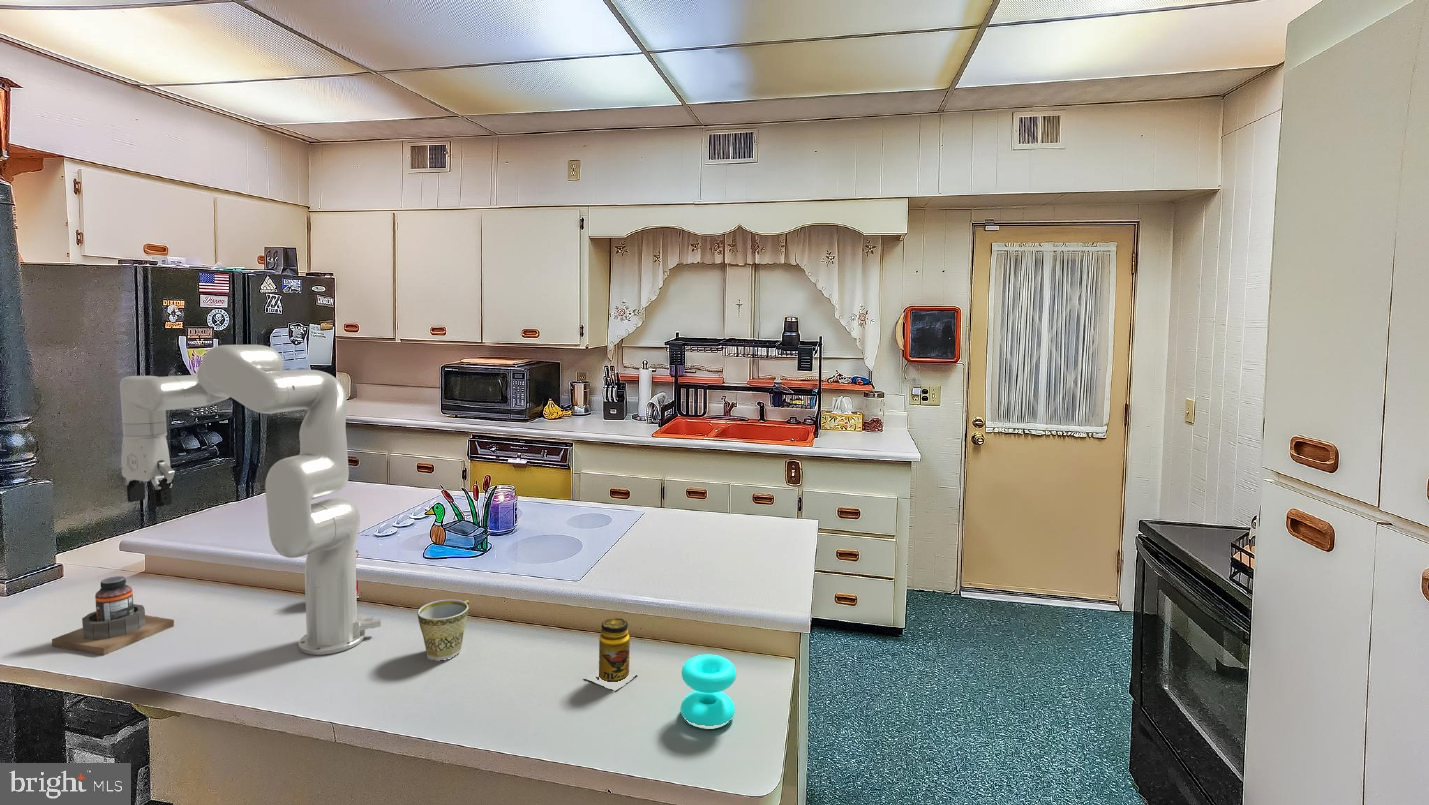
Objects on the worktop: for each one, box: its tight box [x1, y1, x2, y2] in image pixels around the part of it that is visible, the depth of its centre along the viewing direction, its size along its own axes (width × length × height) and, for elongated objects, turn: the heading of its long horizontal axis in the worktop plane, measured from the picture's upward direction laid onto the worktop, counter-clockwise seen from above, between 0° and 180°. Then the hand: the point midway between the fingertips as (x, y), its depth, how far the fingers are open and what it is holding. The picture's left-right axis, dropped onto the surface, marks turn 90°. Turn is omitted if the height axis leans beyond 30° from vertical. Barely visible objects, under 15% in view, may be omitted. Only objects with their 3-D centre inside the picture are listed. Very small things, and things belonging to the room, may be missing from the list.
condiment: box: [598, 617, 631, 682], centre depth 131 cm, size 7×8×12 cm
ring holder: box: [51, 603, 175, 656], centre depth 141 cm, size 14×14×5 cm
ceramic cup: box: [417, 599, 471, 662], centre depth 139 cm, size 13×10×10 cm
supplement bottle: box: [94, 575, 134, 622], centre depth 141 cm, size 6×6×11 cm
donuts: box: [680, 654, 737, 726], centre depth 118 cm, size 10×10×10 cm
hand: (149, 503), depth 150 cm, fingers open, 9 cm apart
